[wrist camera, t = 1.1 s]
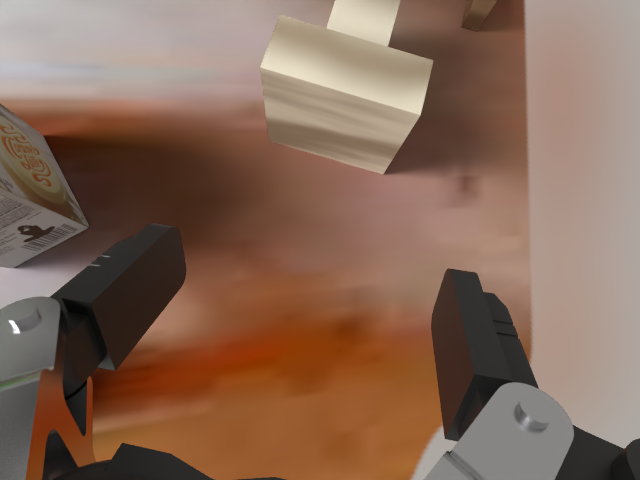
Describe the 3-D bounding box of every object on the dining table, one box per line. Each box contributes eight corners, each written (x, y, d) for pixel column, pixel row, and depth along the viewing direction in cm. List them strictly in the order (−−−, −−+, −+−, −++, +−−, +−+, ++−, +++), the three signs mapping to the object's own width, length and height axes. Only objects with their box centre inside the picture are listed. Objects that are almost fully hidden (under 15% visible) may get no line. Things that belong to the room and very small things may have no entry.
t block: (383, 174, 30) (420, 115, 22) (268, 140, 30) (260, 67, 21) (412, 58, 33) (456, -37, 24) (308, 26, 33) (314, -80, 24)
